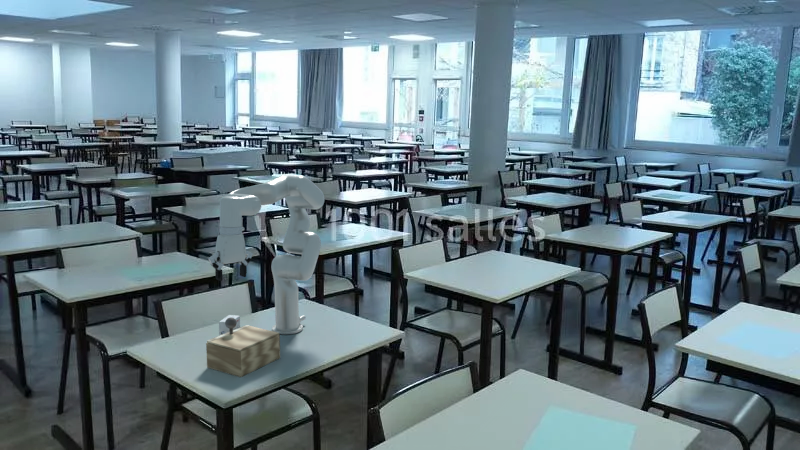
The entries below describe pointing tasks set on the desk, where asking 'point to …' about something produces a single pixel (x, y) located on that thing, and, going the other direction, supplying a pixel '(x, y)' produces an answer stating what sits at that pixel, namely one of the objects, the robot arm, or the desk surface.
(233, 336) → the wooden box lid
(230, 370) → the wooden box
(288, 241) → the robot arm
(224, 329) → the ink box
